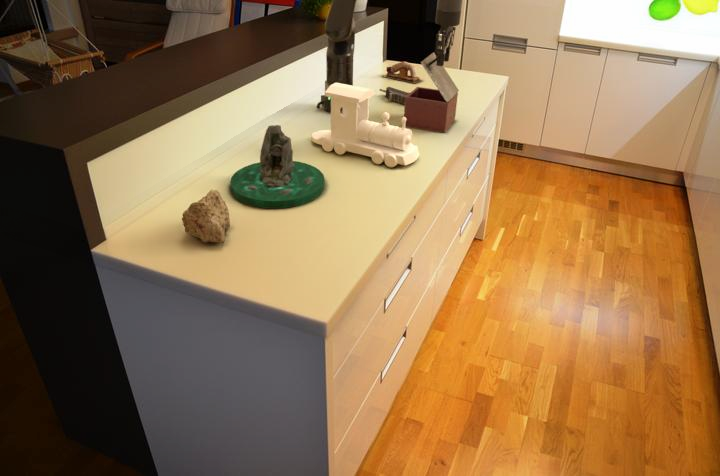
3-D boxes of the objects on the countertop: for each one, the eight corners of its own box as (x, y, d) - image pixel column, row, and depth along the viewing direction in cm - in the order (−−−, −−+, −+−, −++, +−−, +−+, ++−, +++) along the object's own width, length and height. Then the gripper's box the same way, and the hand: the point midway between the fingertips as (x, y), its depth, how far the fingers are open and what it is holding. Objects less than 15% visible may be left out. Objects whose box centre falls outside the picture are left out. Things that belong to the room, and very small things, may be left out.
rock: (167, 214, 132) (199, 198, 128) (198, 195, 143) (228, 179, 139) (193, 256, 135) (225, 242, 130) (221, 234, 146) (252, 220, 141)
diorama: (217, 203, 150) (211, 147, 143) (247, 163, 172) (243, 112, 164) (313, 212, 148) (312, 155, 140) (332, 170, 169) (332, 119, 161)
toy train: (405, 171, 170) (410, 106, 160) (302, 145, 184) (301, 84, 174) (423, 157, 179) (429, 94, 169) (324, 133, 193) (324, 74, 184)
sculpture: (389, 73, 255) (390, 56, 251) (423, 80, 248) (424, 62, 244) (381, 77, 250) (382, 60, 246) (415, 84, 243) (417, 66, 239)
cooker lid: (420, 62, 189) (434, 52, 186) (432, 53, 199) (445, 43, 196) (446, 102, 192) (461, 93, 188) (457, 91, 202) (470, 82, 199)
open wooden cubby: (403, 126, 201) (405, 97, 196) (415, 114, 211) (417, 86, 206) (444, 132, 197) (447, 103, 192) (454, 120, 207) (457, 92, 202)
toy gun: (463, 110, 218) (437, 119, 208) (397, 89, 236) (371, 96, 227) (464, 100, 216) (438, 109, 207) (398, 80, 234) (371, 87, 225)
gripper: (443, 2, 191) (437, 56, 200) (430, 10, 179) (424, 67, 188) (466, 5, 188) (459, 60, 197) (455, 13, 177) (447, 70, 186)
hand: (442, 63), depth 193 cm, fingers closed on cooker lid, 5 cm apart
